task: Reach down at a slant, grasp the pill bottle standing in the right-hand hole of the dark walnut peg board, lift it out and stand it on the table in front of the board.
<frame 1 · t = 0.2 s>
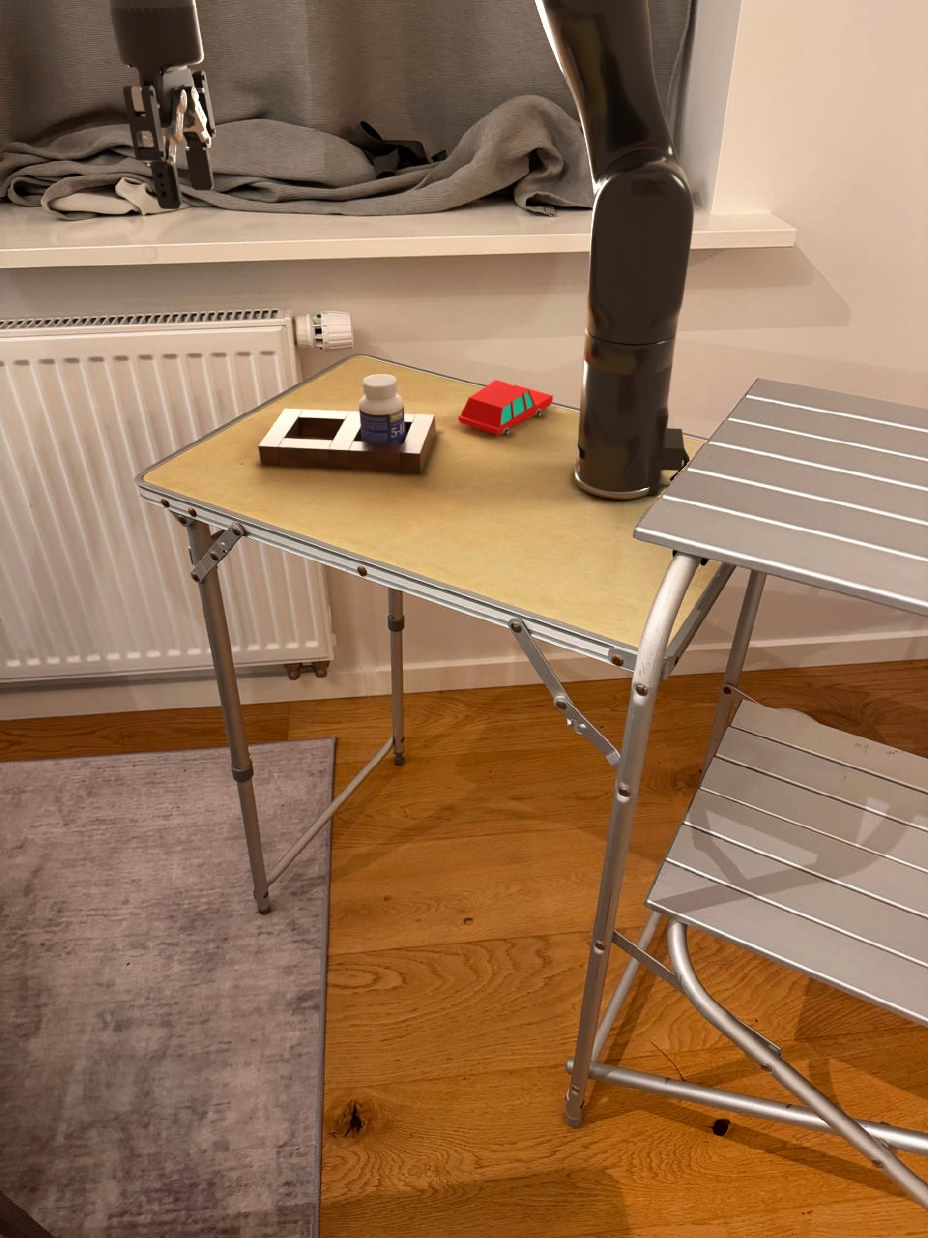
hand: (188, 198, 90), 29 cm above the table, tool pointing down, fingers open, 8 cm apart
pill bottle: (384, 451, 110), resting in peg board
peg board: (350, 448, 110), on the table
toy car: (506, 418, 117), on the table
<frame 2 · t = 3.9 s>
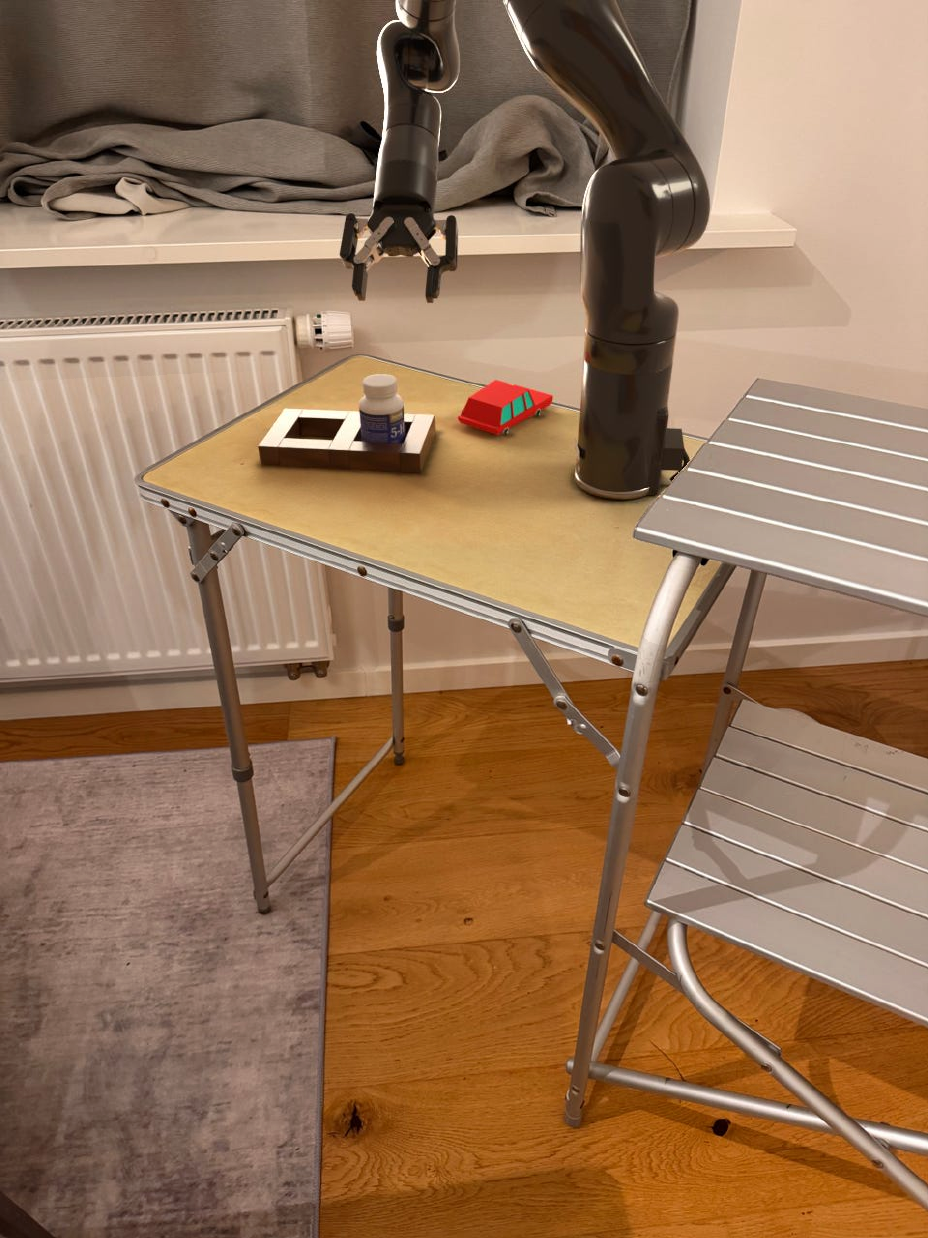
hand: (394, 298, 110), 15 cm above the table, tool tilted 45°, fingers open, 8 cm apart
nothing on the table moved.
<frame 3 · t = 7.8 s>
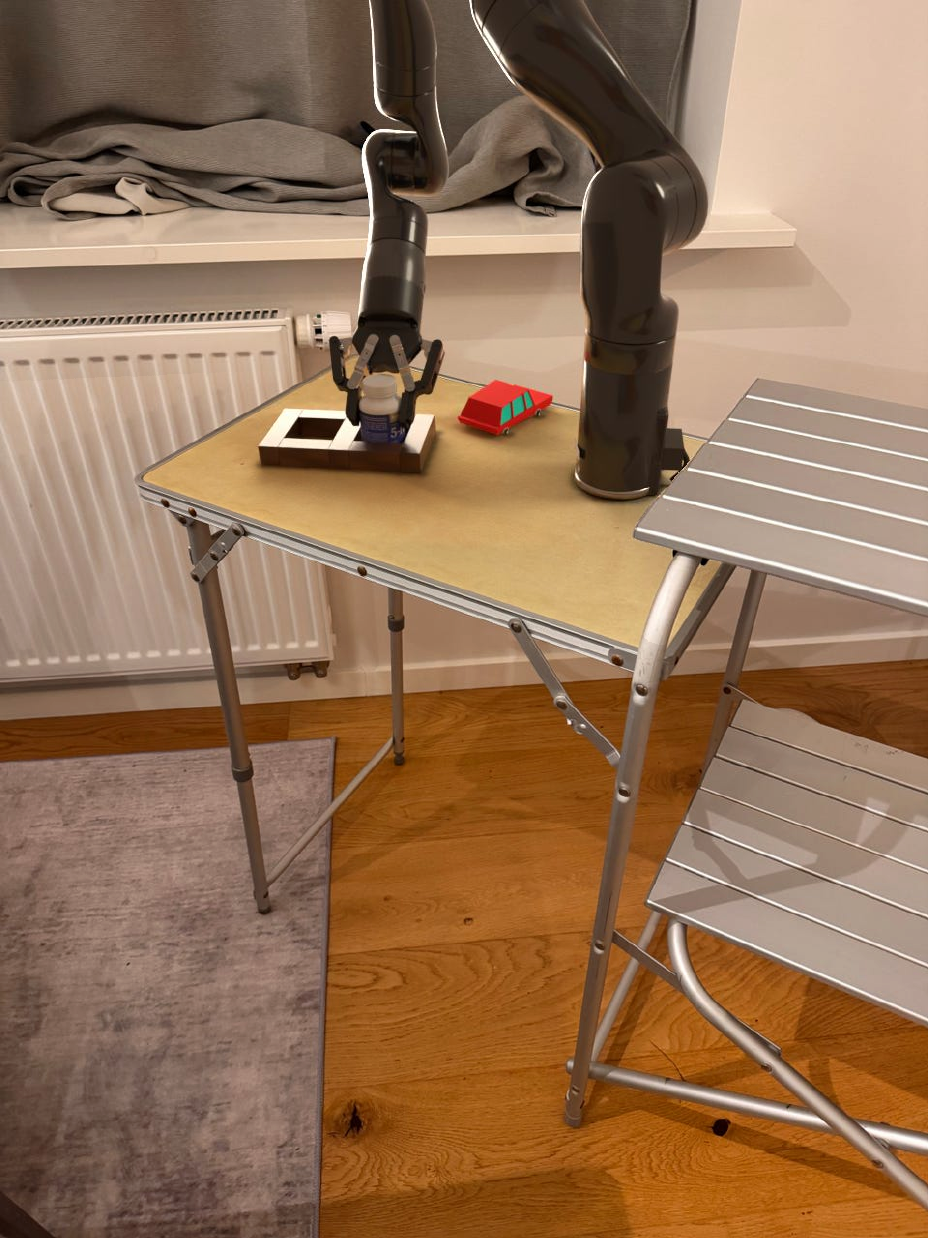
hand: (379, 424, 105), 4 cm above the table, tool tilted 45°, fingers closed on pill bottle, 5 cm apart
pill bottle: (384, 451, 110), resting in peg board, touching gripper
everything else where it was.
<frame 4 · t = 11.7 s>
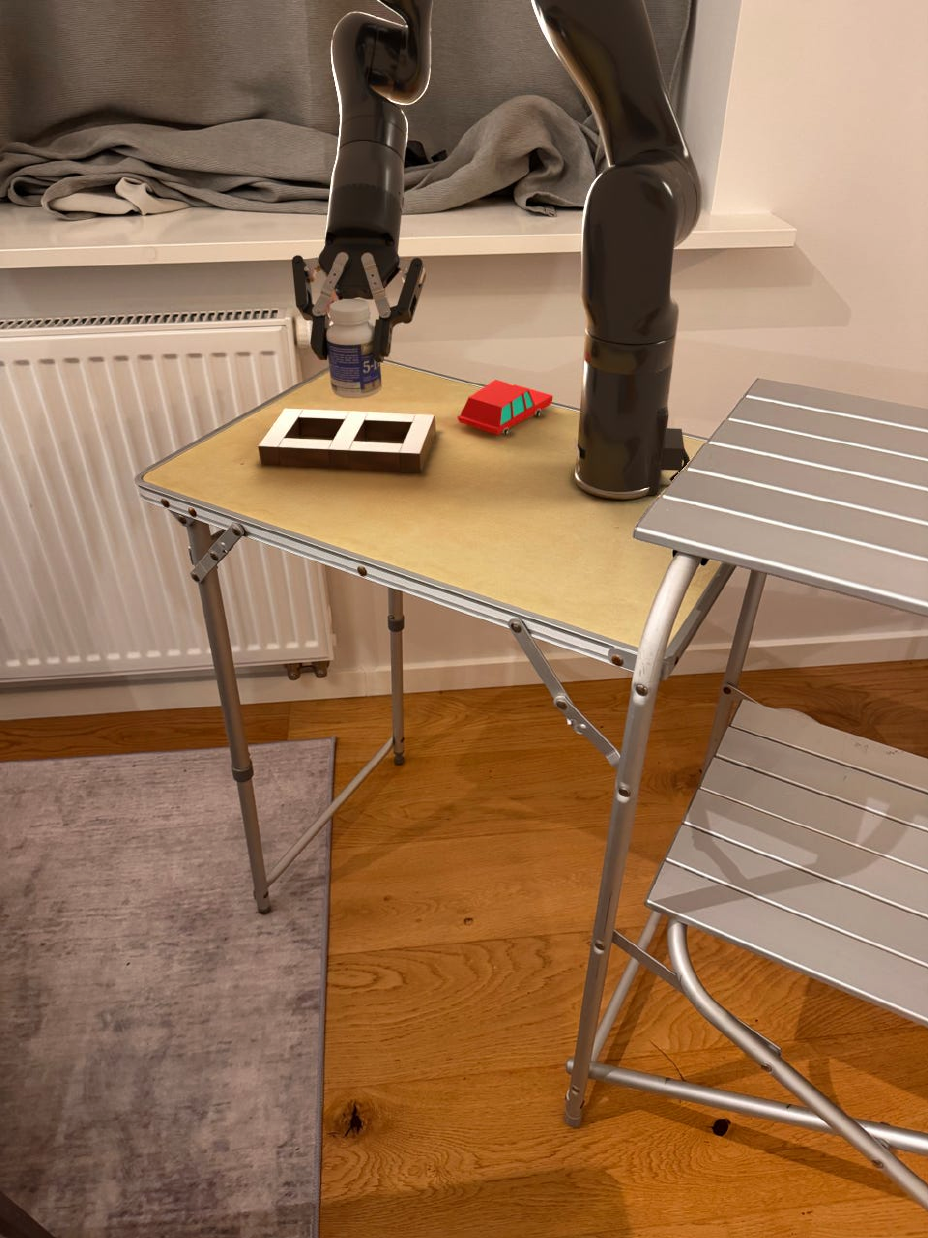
hand: (349, 357, 91), 16 cm above the table, tool tilted 45°, fingers closed on pill bottle, 5 cm apart
pill bottle: (357, 391, 95), point 11 cm above the table, touching gripper
everything else where it was.
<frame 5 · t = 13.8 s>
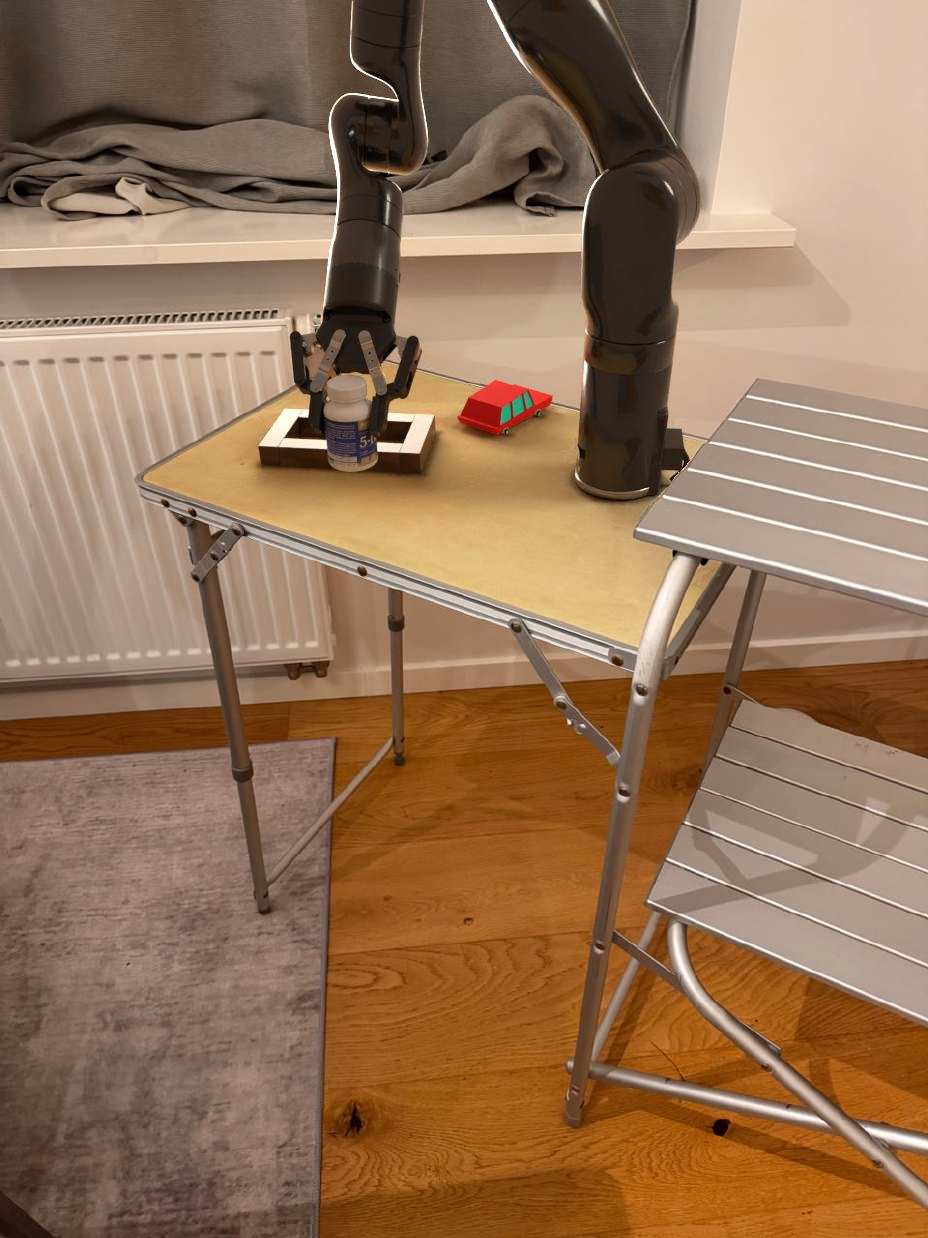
hand: (346, 432, 92), 9 cm above the table, tool tilted 45°, fingers closed on pill bottle, 5 cm apart
pill bottle: (354, 463, 96), point 5 cm above the table, touching gripper
everything else where it was.
when the fingers open (4 cm above the table, at t = 15.6 s): pill bottle stays where it is, on the table.
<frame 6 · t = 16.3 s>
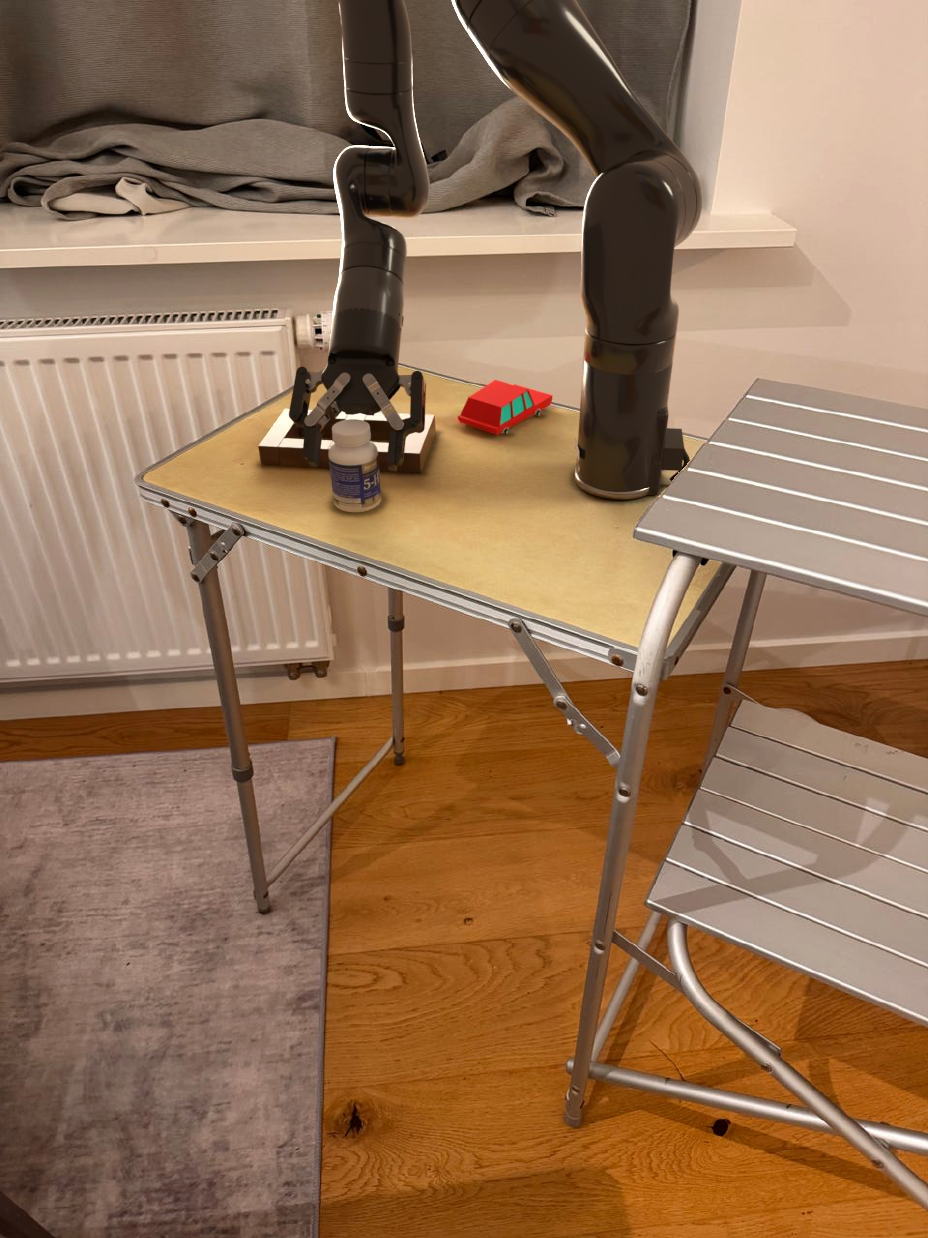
hand: (352, 466, 95), 5 cm above the table, tool tilted 45°, fingers open, 8 cm apart
pill bottle: (358, 503, 99), on the table
everything else where it was.
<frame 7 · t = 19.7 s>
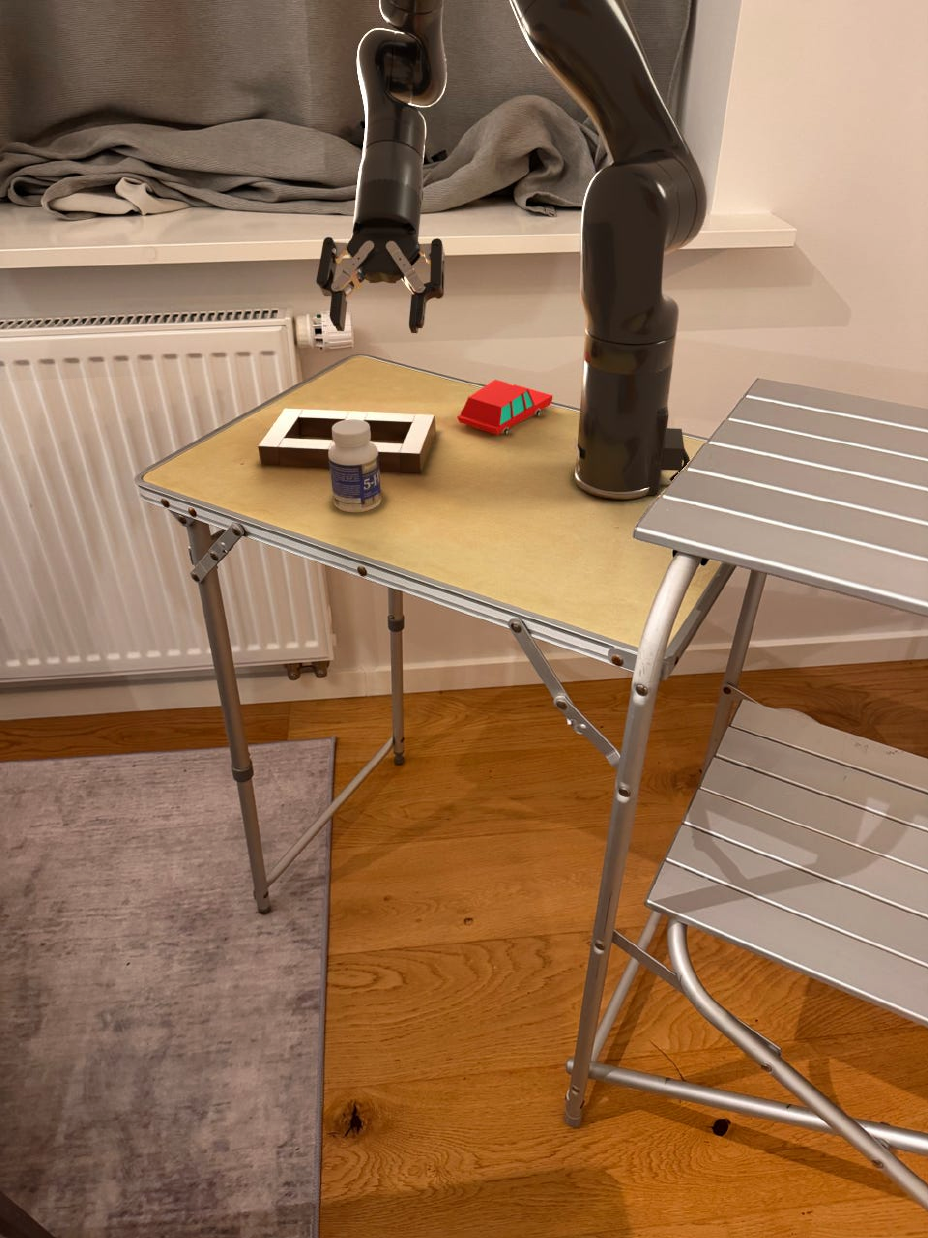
hand: (376, 329, 101), 15 cm above the table, tool tilted 45°, fingers open, 8 cm apart
nothing on the table moved.
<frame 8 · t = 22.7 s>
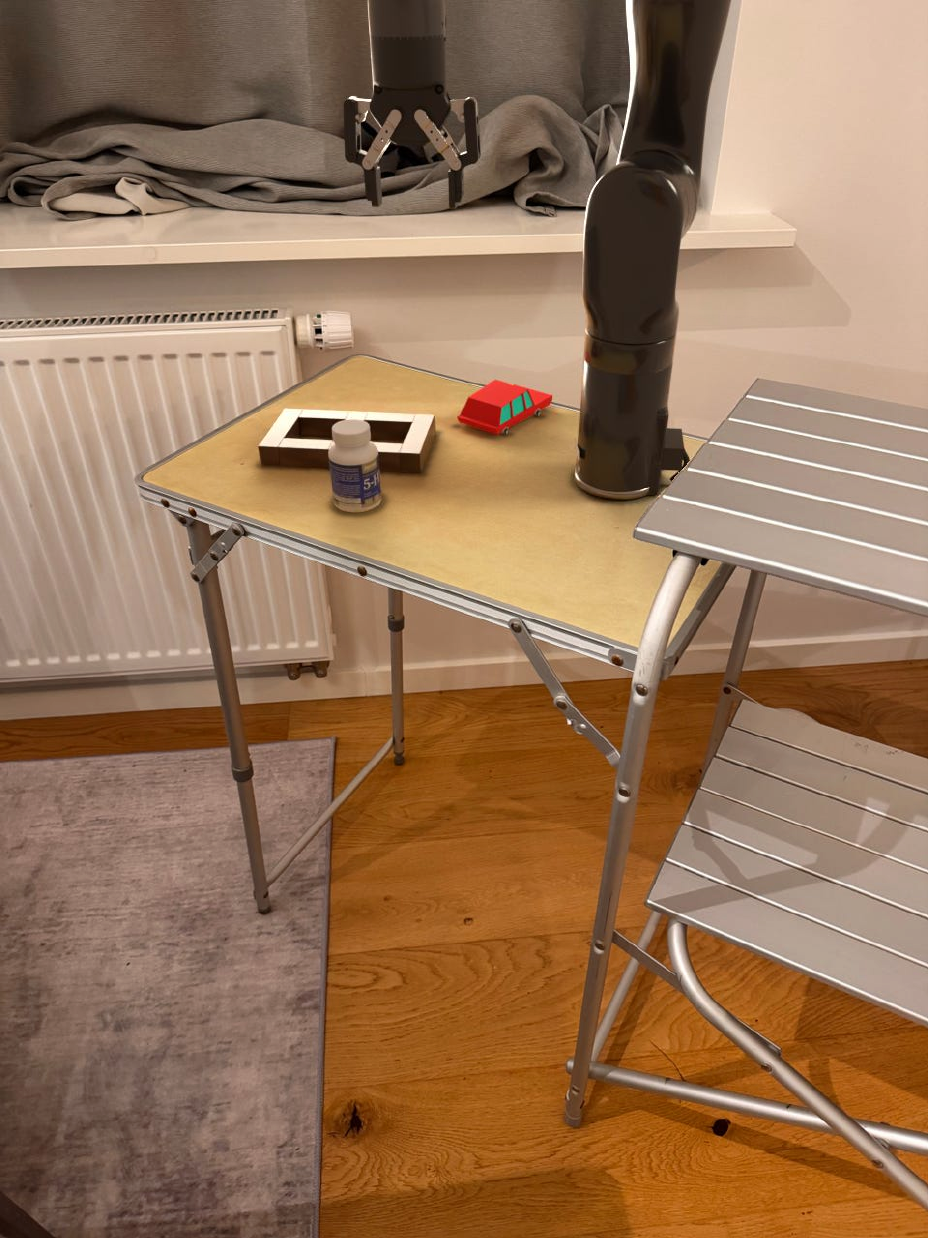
hand: (415, 206, 99), 26 cm above the table, tool pointing down, fingers open, 8 cm apart
nothing on the table moved.
at the end: pill bottle inside the target area (0.2 cm from its centre), on the table; pill bottle tilted 0°; the gripper is holding nothing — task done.
